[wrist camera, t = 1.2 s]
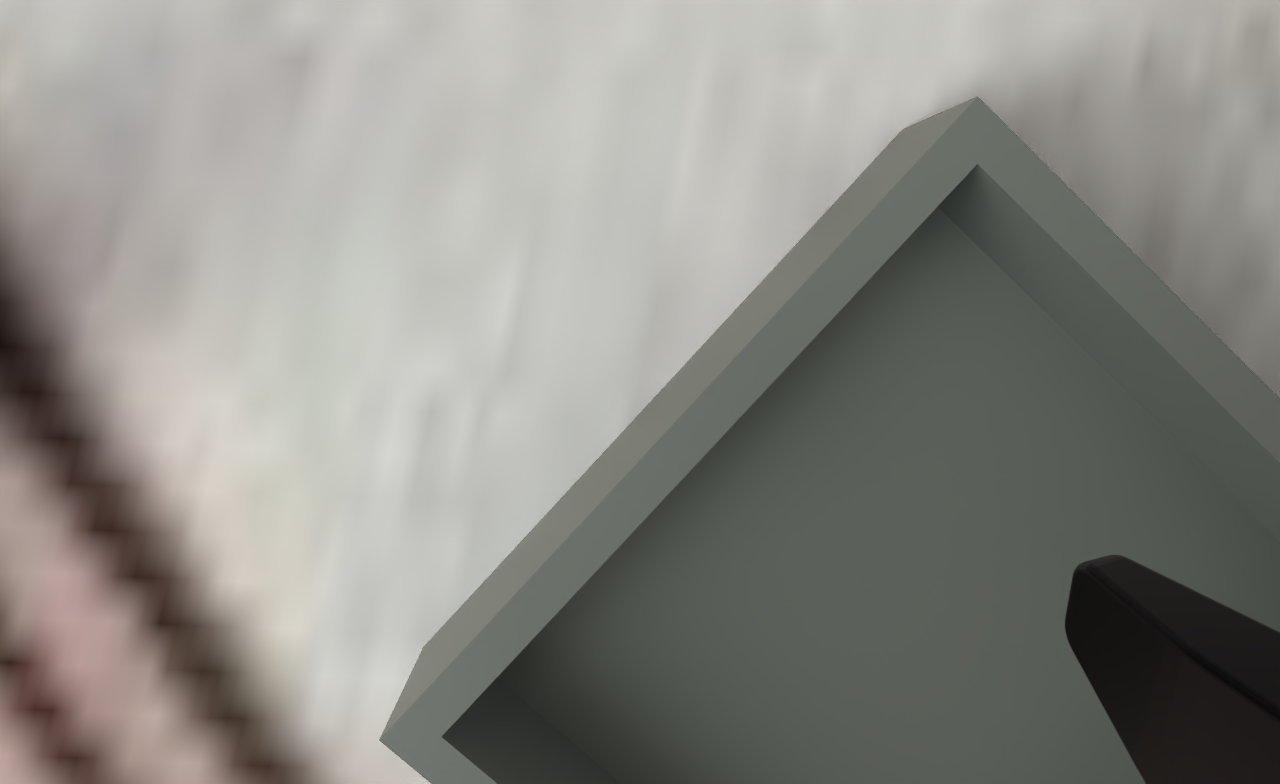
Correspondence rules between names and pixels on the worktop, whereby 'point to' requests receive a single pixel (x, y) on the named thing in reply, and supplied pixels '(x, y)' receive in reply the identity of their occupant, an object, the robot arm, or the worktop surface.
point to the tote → (873, 510)
